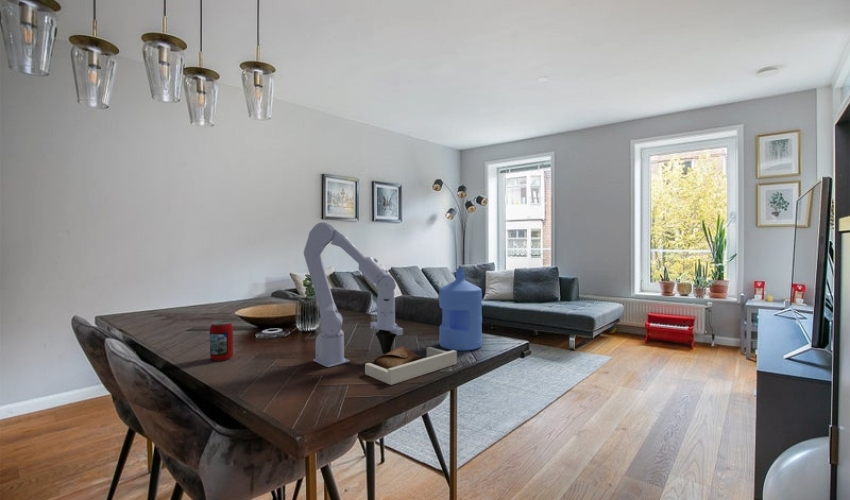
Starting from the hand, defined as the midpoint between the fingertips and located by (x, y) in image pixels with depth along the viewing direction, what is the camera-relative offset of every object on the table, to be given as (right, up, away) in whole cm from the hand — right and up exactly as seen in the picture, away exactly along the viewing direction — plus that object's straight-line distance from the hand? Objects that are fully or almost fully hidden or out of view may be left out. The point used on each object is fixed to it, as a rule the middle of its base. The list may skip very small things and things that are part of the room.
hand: (386, 353), depth 129 cm
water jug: (+25, -2, +17) cm, 31 cm away
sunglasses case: (+4, -3, -3) cm, 6 cm away
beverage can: (-54, -2, +2) cm, 54 cm away
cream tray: (+9, -2, -9) cm, 13 cm away
